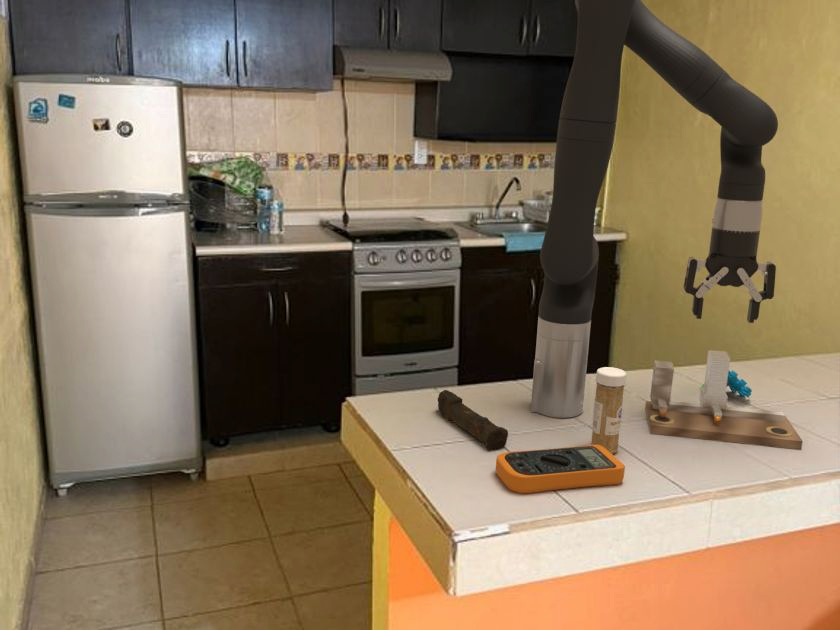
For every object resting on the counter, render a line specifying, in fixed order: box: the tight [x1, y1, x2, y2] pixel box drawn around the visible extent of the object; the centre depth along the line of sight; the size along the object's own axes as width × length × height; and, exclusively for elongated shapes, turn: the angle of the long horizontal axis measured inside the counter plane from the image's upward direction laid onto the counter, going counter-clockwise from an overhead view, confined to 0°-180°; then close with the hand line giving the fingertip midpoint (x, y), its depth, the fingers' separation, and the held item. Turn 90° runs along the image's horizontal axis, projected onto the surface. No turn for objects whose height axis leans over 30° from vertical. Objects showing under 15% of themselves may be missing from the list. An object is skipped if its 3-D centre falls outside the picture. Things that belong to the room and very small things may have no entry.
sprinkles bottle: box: [589, 366, 627, 455], centre depth 124 cm, size 5×5×14 cm
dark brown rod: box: [437, 389, 509, 452], centre depth 132 cm, size 19×4×5 cm, turn 26°
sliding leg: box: [698, 349, 731, 423], centre depth 135 cm, size 4×8×10 cm, turn 169°
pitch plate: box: [644, 360, 803, 451], centre depth 135 cm, size 24×12×10 cm, turn 79°
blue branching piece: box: [699, 369, 753, 398], centre depth 151 cm, size 11×6×10 cm
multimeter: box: [495, 444, 626, 494], centre depth 115 cm, size 9×18×3 cm, turn 105°
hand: (724, 319), depth 134 cm, fingers open, 8 cm apart
